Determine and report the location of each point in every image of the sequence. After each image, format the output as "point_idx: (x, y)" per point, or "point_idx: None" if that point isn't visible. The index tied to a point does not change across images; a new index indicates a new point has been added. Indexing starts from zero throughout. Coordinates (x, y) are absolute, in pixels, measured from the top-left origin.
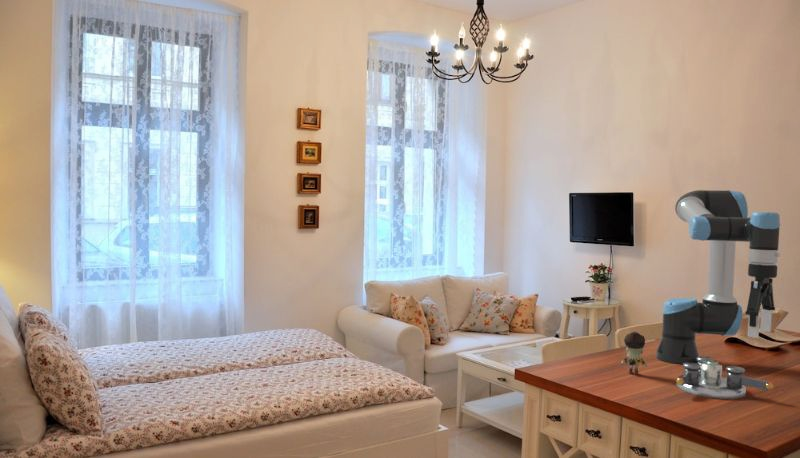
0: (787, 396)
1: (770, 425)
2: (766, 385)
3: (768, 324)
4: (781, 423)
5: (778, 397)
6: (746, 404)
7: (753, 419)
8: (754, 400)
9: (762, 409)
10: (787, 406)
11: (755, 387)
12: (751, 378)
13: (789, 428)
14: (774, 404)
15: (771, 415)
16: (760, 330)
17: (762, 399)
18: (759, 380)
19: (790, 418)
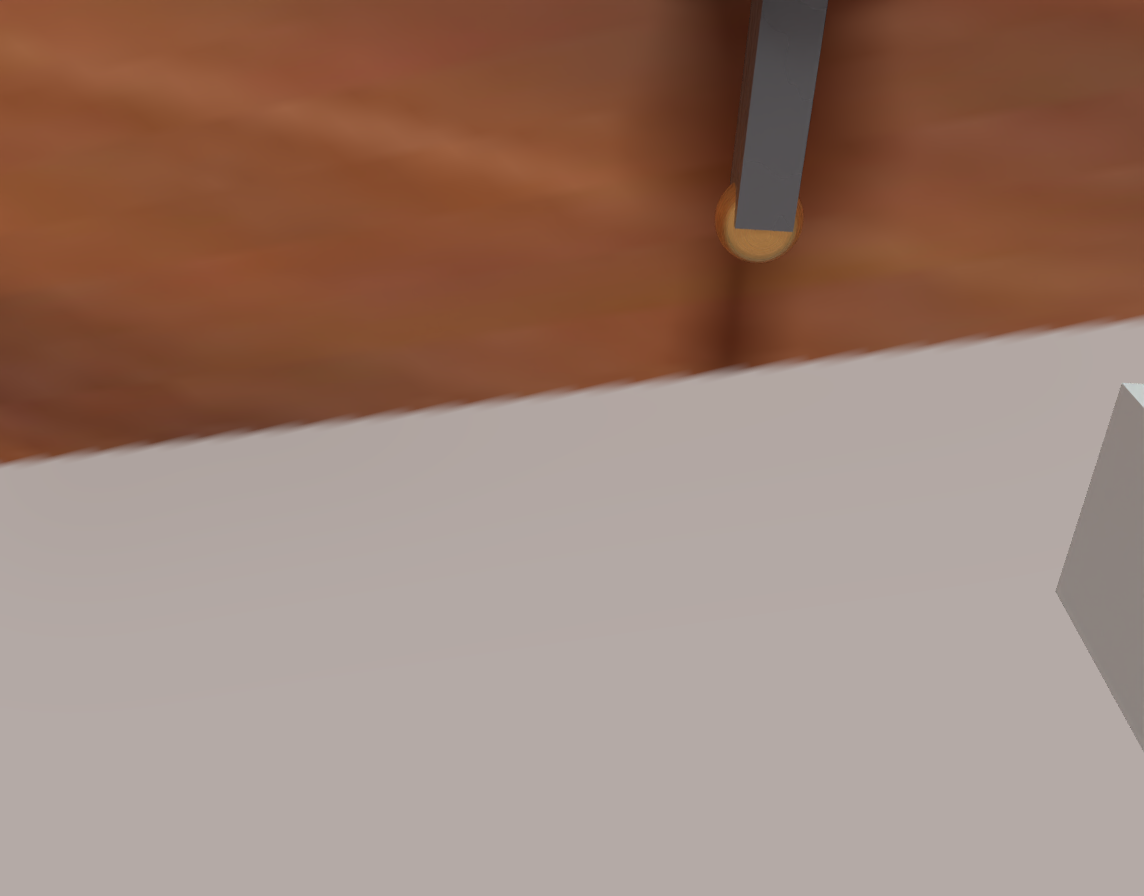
0: (1086, 278)
1: (21, 313)
2: (722, 201)
3: (1142, 686)
4: (153, 368)
5: (987, 216)
6: (470, 9)
7: (45, 174)
8: (691, 43)
9: (422, 175)
10: (704, 331)
11: (745, 63)
12: (807, 15)
13: (85, 430)
14: (686, 231)
15: (302, 272)
16: (1122, 387)
17: None
18: (769, 123)
19: (351, 401)
